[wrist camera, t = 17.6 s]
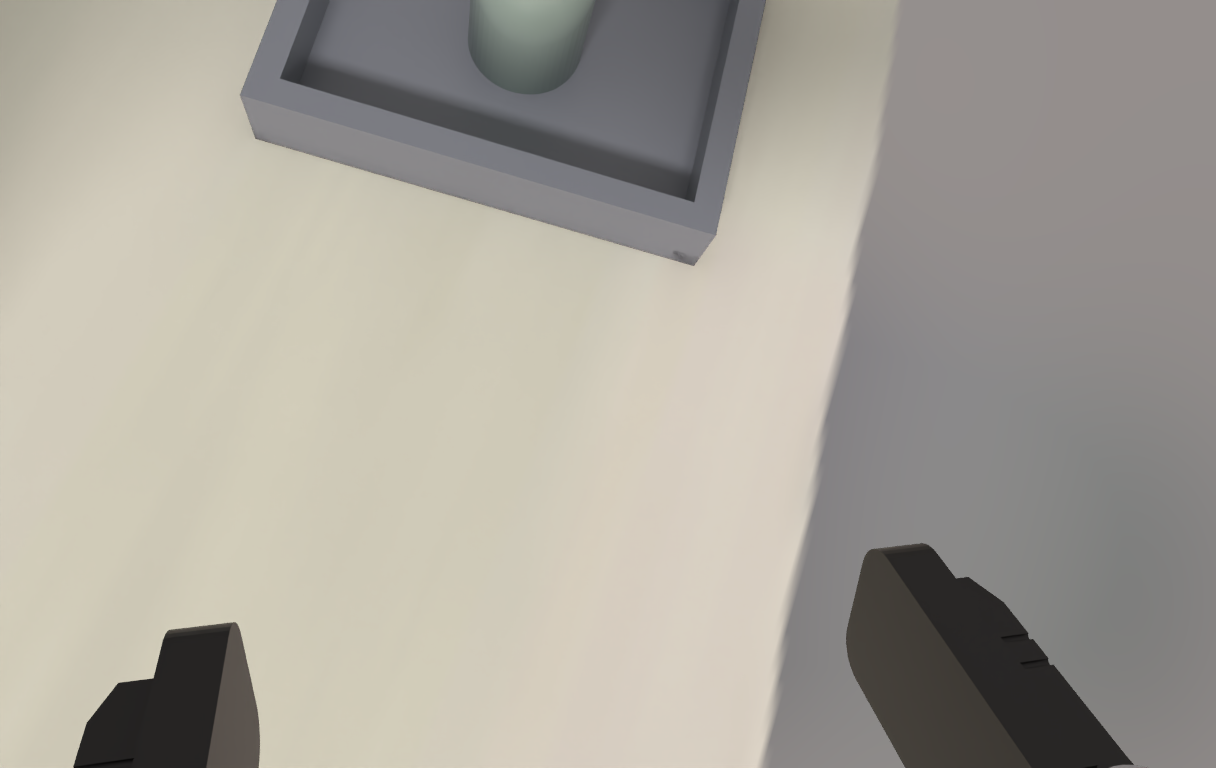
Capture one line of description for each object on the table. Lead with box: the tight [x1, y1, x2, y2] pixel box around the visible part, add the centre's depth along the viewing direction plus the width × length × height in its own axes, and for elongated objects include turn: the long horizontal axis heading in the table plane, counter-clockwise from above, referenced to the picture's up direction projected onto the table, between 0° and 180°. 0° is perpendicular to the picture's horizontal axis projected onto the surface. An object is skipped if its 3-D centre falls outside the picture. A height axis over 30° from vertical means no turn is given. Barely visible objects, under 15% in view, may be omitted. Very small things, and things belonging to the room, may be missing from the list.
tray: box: [240, 0, 766, 266], centre depth 43 cm, size 20×16×4 cm
